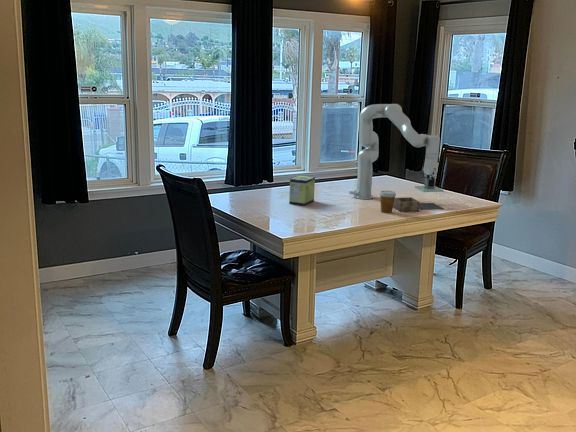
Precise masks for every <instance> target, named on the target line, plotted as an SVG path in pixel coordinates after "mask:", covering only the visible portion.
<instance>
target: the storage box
mask: <svg viewBox="0 0 576 432" xmlns="http://www.w3.org/2000/svg"><path fill="white" fill-rule="evenodd" d="M419 203H421V202H420V201H419V200H417V199H415V198H414V197H411V196H409V197H408V196H407V197H406V196H405V197H395V199H394V204H393V209H394V210H395V211H397V210H398V211H397V212H399V213H412V212H413V213H417V212H420V209H419Z"/></svg>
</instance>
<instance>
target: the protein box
mask: <svg viewBox="0 0 576 432" xmlns="http://www.w3.org/2000/svg"><path fill="white" fill-rule="evenodd" d="M315 183H316V178H315V177H314V176H310V175H308V176H307V175H301V174H300V175H297V176H295V177H292V178H290V179H289V196H288V197H289V200H288V202H289V205H295V206H296V205H297V206H303V207H304V206H307V205H308V204H311V203H313V202H314V201H315V188H316V187H315Z"/></svg>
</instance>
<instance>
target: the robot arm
mask: <svg viewBox="0 0 576 432" xmlns="http://www.w3.org/2000/svg"><path fill="white" fill-rule="evenodd" d="M380 118H388V119H389V121H391V122H392V124H393V125H395V127H397V129H398V130H399V131H400V132H401V133H400V134H402V136H403V138H405V140H406V141H407V142H408V143H409V144H411V146H412V147H415V148H422V147H425V159H424V164H423V169H422V170H423V173H424V174H425V178H430V180H429V187H432V186H434V180H435V181H436V178H437V174H438V162H439V161H438V160H439V154H440V141H441V138H440V136H439V135H434V134H432V135H431V134H427V133H425V134H424V133H420V134H419V133H418V132H417V131H416V130H415V129H414V128H413V126H412V124H411V123H412V122H411V120H410V118H409V117H408V116H407V115H406V114H405V113H404V112H403V109H402V106H401V105H400V104H398V103H390V104H389V103H378V104H377V103H376V104H370V105H367V106H365V107H364V108H363V109H361V111H360V113H359V118H358V119H359V122H358V123H359V130H358V131H359V132H358V133H359V134H358V136H359V138H358V140H359V144H360V146H362V148H363V147H364V149H362V150H361V149H360V150H359V152H358V154H357V157H356V159H357V180H356V189H354V190H353V191H351V190H350V191H349V192H348V194H349V195H353V197H354V198H355V199H359V200H371V199H374V195H373V194H372V185H373V184H372V183H373V163H374V162H375V161H377V160H378V158H379V153H380V152H379V151H380V149H379V144H380V143H379V141H380V140H379V136H378V133H376V132H375V131H373V130H374V129H373V128H374V125H373V119H380Z"/></svg>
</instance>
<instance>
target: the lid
mask: <svg viewBox="0 0 576 432" xmlns="http://www.w3.org/2000/svg"><path fill="white" fill-rule="evenodd" d="M429 180H430V178H426V177H425V178H424V185H418V186H416V185H415V186H414V189H416V190H419V191H420V192H423V193H441V192H442V193H443V192H444V191H445V190H444V189H442V188H440V187H438V186H436V179H435V180H434V186H432V187H429Z"/></svg>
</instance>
